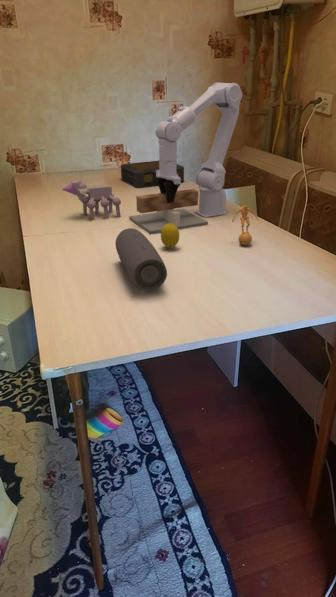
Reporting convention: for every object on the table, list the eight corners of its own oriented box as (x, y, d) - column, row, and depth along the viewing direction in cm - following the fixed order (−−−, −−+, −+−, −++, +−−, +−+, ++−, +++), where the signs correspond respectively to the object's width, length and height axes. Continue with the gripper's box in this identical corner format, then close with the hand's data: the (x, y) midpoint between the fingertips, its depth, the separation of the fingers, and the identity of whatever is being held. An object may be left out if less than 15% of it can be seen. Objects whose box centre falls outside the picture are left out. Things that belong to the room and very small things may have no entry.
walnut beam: (192, 202, 158) (193, 188, 156) (197, 205, 155) (198, 191, 153) (136, 210, 149) (136, 196, 147) (141, 213, 146) (140, 198, 144)
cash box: (165, 174, 223) (165, 159, 219) (185, 183, 207) (185, 166, 203) (119, 180, 212) (118, 163, 209) (137, 189, 197) (136, 171, 193)
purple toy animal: (68, 224, 151) (63, 184, 146) (61, 217, 160) (57, 179, 155) (123, 217, 159) (120, 179, 153) (114, 211, 167) (111, 174, 162)
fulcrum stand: (183, 211, 166) (183, 198, 164) (207, 224, 152) (208, 210, 149) (129, 219, 157) (128, 205, 155) (150, 234, 143) (150, 219, 141)
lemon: (181, 246, 133) (181, 221, 130) (175, 252, 129) (176, 226, 125) (164, 244, 135) (164, 219, 131) (158, 250, 130) (158, 224, 127)
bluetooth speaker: (169, 293, 106) (169, 254, 101) (132, 298, 104) (130, 259, 99) (146, 258, 125) (146, 224, 121) (114, 261, 123) (112, 227, 118)
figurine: (234, 248, 132) (236, 209, 126) (227, 241, 137) (230, 203, 132) (260, 246, 133) (264, 207, 128) (252, 239, 139) (256, 202, 133)
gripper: (147, 157, 149) (148, 197, 155) (167, 165, 137) (167, 207, 144) (166, 156, 152) (166, 195, 158) (186, 163, 140) (185, 205, 147)
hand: (167, 201), depth 151 cm, fingers closed on walnut beam, 3 cm apart
